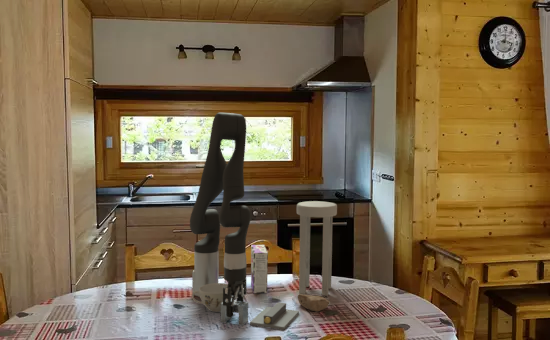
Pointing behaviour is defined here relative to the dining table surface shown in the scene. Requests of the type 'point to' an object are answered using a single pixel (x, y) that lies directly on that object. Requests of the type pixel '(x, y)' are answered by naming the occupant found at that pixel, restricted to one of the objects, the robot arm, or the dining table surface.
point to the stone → (313, 302)
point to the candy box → (259, 268)
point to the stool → (306, 212)
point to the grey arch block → (237, 308)
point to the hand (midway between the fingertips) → (235, 312)
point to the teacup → (211, 296)
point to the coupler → (275, 317)
